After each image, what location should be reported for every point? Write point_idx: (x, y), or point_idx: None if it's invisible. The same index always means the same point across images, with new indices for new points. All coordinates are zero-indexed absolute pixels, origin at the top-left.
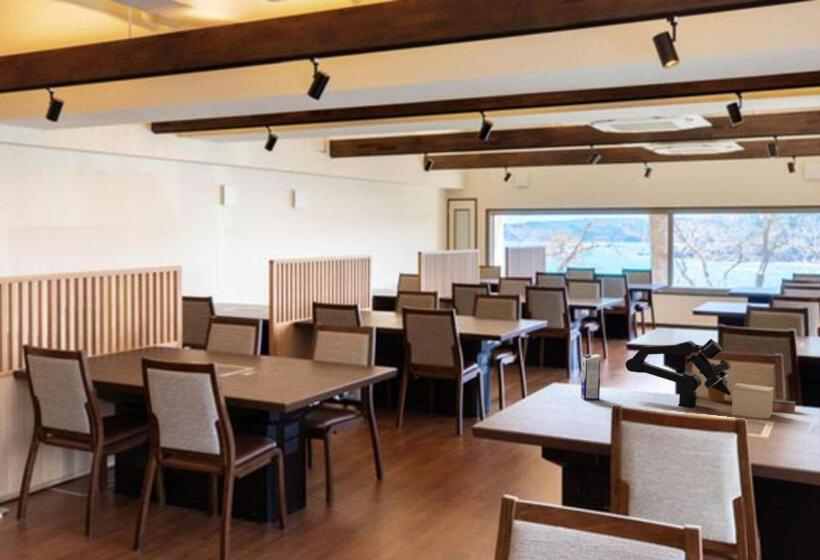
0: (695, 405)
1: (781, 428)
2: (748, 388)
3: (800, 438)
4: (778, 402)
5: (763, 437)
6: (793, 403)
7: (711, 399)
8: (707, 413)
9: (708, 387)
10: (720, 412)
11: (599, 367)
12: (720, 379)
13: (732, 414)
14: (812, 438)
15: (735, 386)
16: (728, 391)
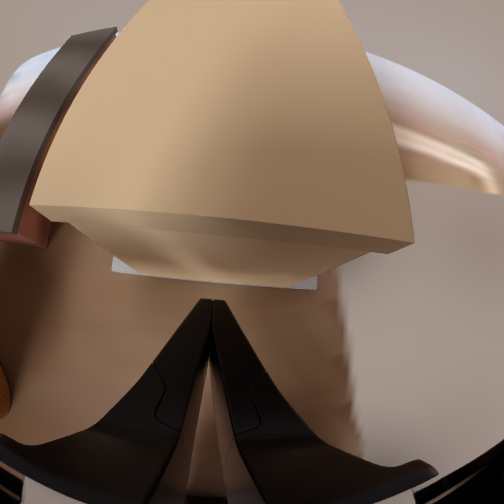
0: (224, 500)
1: (394, 105)
2: (373, 77)
3: (442, 98)
4: (90, 64)
5: (493, 174)
6: (112, 28)
7: (3, 412)
8: (338, 412)
9: (457, 471)
10: (264, 360)
11: None
12: (404, 497)
13: (316, 279)
14: (421, 75)
15: (375, 200)
16: (238, 328)
